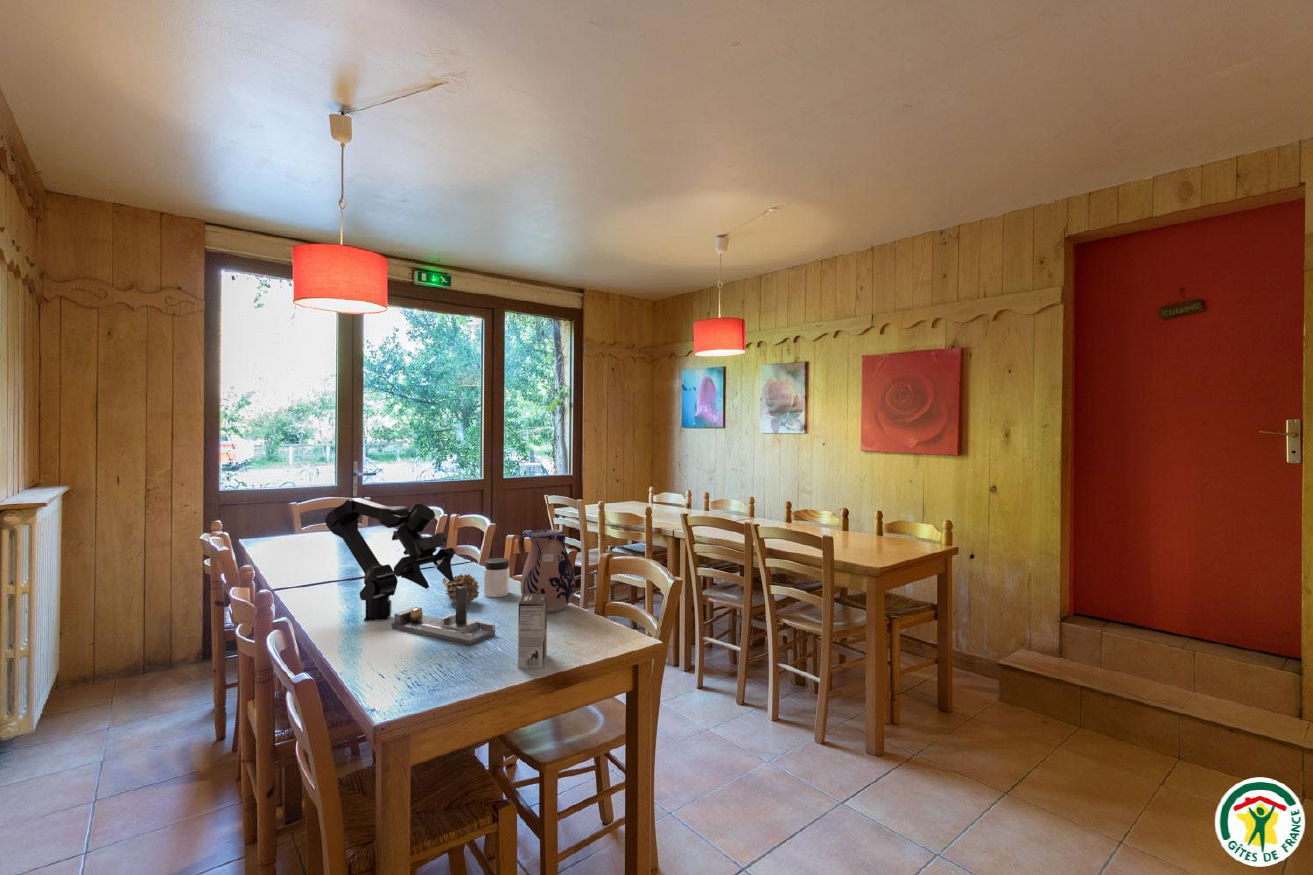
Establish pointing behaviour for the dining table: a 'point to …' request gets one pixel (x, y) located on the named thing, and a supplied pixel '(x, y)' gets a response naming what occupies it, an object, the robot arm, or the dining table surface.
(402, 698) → the dining table surface
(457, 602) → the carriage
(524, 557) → the ceramic pitcher
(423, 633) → the base
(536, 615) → the coffee box
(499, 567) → the jar
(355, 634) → the dining table surface
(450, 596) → the pine cone
